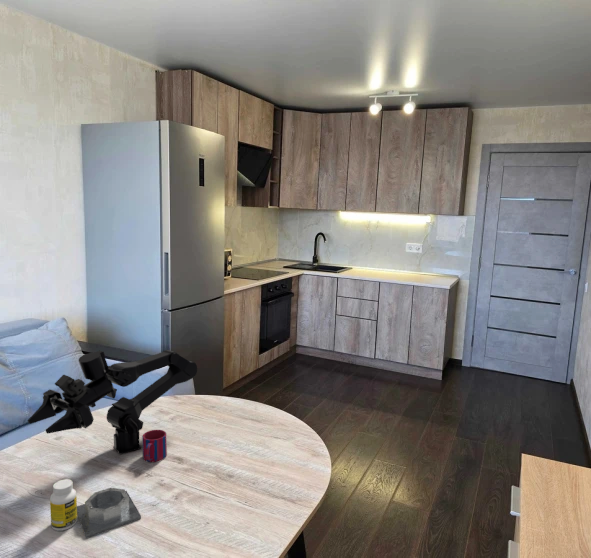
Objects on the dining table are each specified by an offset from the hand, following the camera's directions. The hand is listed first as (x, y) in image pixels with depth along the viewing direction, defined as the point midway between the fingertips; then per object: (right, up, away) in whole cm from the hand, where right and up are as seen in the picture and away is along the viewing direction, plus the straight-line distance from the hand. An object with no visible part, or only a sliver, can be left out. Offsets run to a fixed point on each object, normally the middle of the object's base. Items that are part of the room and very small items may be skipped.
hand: (37, 426), depth 119 cm
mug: (+24, -15, +17) cm, 33 cm away
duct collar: (+22, -18, -8) cm, 29 cm away
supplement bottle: (+13, -19, -12) cm, 26 cm away
